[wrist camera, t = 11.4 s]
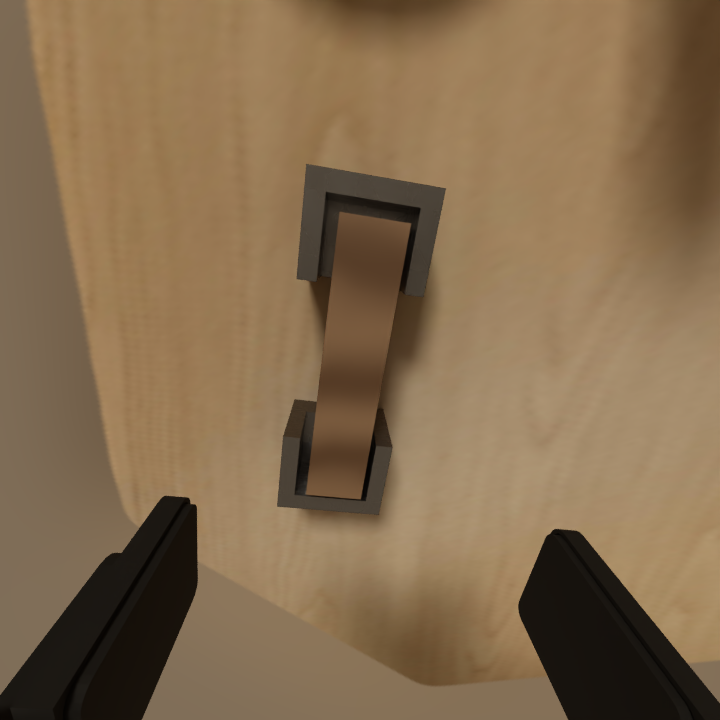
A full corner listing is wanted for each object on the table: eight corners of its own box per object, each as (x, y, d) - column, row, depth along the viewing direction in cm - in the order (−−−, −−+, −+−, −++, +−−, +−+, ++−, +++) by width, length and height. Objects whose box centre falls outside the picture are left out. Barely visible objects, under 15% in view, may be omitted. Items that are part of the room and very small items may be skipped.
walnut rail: (340, 218, 23) (339, 211, 18) (397, 227, 23) (410, 223, 19) (312, 453, 29) (305, 494, 24) (357, 458, 29) (360, 499, 25)
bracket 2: (372, 467, 32) (378, 514, 26) (289, 459, 31) (277, 506, 26) (383, 409, 30) (392, 447, 25) (294, 399, 29) (283, 436, 24)
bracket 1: (315, 182, 24) (306, 164, 18) (422, 201, 25) (445, 188, 19) (306, 271, 26) (296, 278, 20) (406, 286, 27) (423, 297, 21)
